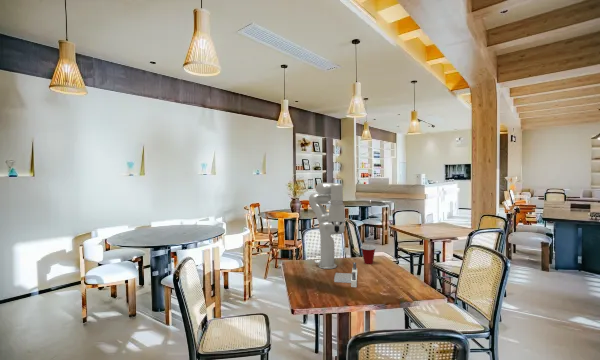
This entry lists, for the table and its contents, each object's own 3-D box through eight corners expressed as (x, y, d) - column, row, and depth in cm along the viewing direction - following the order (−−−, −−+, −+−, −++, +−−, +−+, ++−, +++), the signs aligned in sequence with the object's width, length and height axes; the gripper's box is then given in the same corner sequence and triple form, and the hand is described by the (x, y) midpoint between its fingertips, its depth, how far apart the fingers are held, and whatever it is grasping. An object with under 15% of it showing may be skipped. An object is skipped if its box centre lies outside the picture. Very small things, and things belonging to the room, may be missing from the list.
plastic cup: (358, 264, 228) (358, 247, 228) (363, 260, 237) (363, 244, 237) (373, 266, 223) (373, 248, 223) (377, 262, 232) (377, 245, 232)
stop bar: (351, 287, 180) (351, 273, 180) (352, 273, 206) (352, 261, 205) (356, 287, 179) (356, 274, 179) (357, 273, 205) (357, 262, 205)
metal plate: (334, 282, 189) (334, 277, 189) (335, 277, 199) (335, 272, 199) (351, 283, 187) (351, 278, 187) (352, 278, 197) (352, 273, 197)
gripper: (324, 203, 200) (324, 232, 200) (348, 203, 197) (348, 233, 197) (325, 202, 207) (325, 231, 207) (349, 202, 204) (349, 231, 205)
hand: (336, 232), depth 202 cm, fingers closed
